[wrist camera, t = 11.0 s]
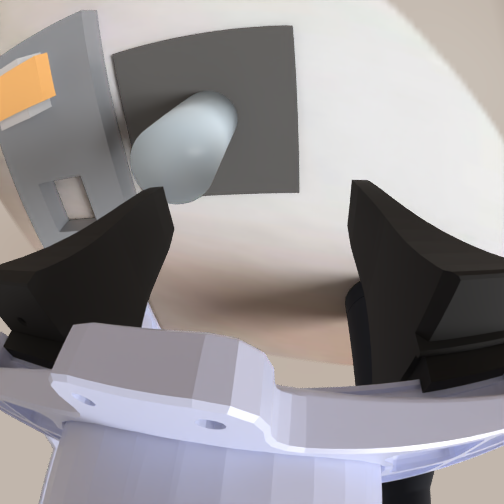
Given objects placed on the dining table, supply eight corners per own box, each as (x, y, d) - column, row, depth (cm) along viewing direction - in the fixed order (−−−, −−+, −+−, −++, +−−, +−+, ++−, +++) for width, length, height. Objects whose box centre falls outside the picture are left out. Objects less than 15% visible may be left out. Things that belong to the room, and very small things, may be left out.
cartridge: (239, 145, 20) (219, 203, 14) (182, 147, 20) (139, 205, 14) (236, 89, 18) (211, 119, 11) (176, 93, 18) (122, 127, 12)
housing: (149, 236, 26) (131, 271, 23) (55, 240, 28) (33, 269, 24) (96, 10, 14) (57, 11, 10) (-4, 64, 15) (-40, 78, 12)
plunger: (78, 85, 16) (44, 100, 13) (-3, 122, 17) (-33, 140, 14) (71, 47, 14) (34, 55, 11) (-11, 91, 15) (-43, 107, 12)
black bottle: (347, 321, 32) (354, 603, 9) (341, 281, 28) (351, 626, 5) (403, 310, 30) (434, 587, 7) (406, 268, 26) (454, 604, 3)
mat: (299, 190, 22) (299, 192, 22) (148, 197, 24) (146, 199, 23) (292, 25, 15) (292, 25, 14) (115, 53, 16) (112, 54, 16)
